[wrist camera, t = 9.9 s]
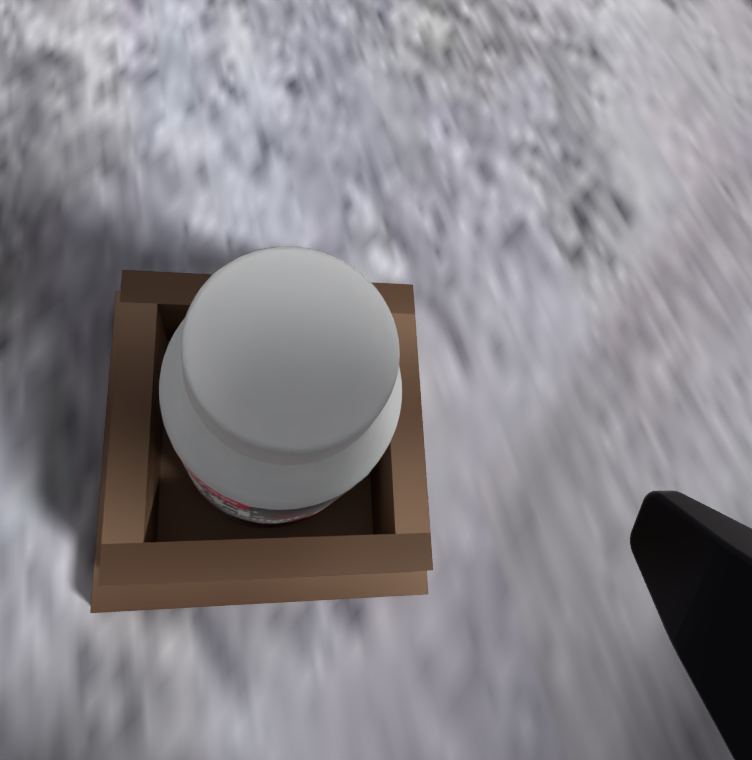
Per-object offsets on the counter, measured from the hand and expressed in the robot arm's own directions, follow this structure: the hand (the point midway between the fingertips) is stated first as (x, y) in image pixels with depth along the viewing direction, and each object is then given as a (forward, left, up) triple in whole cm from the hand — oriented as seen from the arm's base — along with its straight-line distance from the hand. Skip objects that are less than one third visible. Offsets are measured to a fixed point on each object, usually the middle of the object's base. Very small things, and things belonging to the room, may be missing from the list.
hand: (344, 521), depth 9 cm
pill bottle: (+3, +2, -12) cm, 13 cm away
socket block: (+3, +2, -13) cm, 13 cm away
